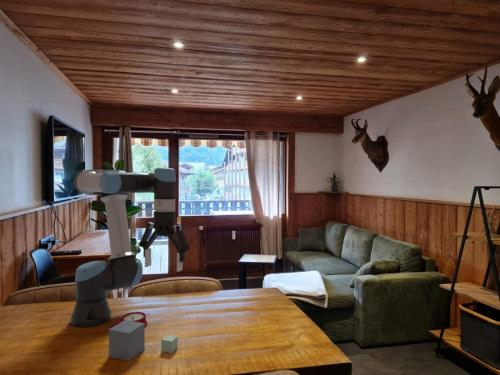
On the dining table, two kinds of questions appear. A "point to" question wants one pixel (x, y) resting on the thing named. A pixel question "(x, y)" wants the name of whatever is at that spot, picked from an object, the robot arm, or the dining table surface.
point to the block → (169, 343)
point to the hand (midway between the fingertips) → (163, 268)
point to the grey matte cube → (126, 340)
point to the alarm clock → (134, 317)
